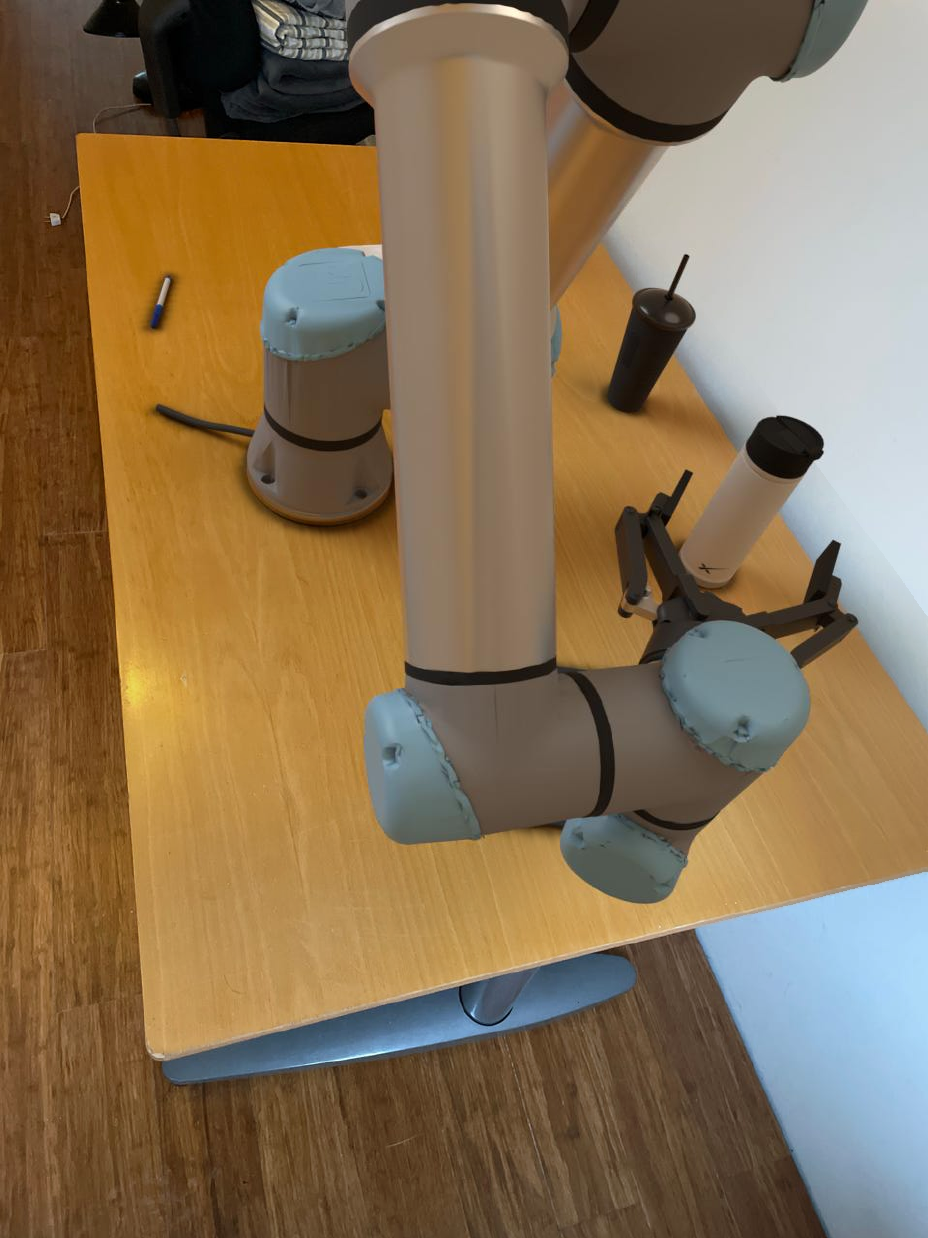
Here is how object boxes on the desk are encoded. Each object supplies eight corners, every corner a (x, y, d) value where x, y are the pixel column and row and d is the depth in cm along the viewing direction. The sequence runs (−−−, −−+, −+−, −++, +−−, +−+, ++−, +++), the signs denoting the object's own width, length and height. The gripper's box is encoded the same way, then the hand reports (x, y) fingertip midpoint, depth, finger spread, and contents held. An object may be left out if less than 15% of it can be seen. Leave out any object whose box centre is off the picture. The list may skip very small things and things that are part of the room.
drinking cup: (651, 426, 103) (719, 283, 87) (593, 409, 103) (651, 263, 87) (654, 390, 108) (720, 248, 92) (599, 374, 107) (655, 228, 91)
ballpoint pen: (158, 330, 97) (157, 322, 96) (150, 328, 97) (149, 321, 96) (171, 279, 103) (171, 271, 102) (164, 278, 103) (163, 270, 102)
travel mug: (700, 598, 87) (794, 461, 71) (665, 553, 90) (748, 412, 74) (743, 583, 90) (843, 448, 74) (707, 540, 93) (796, 401, 77)
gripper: (517, 640, 63) (611, 484, 75) (820, 800, 59) (866, 608, 72) (542, 579, 57) (640, 421, 69) (880, 754, 53) (919, 553, 66)
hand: (755, 516), depth 71 cm, fingers open, 13 cm apart
